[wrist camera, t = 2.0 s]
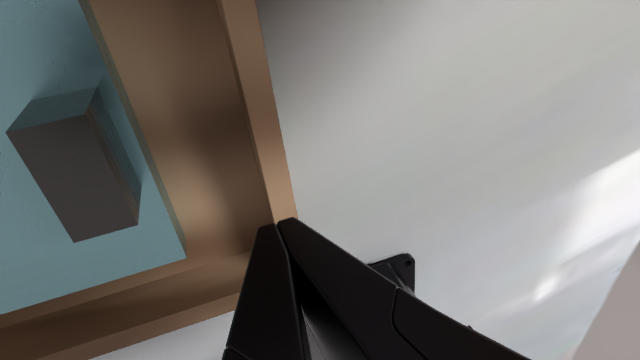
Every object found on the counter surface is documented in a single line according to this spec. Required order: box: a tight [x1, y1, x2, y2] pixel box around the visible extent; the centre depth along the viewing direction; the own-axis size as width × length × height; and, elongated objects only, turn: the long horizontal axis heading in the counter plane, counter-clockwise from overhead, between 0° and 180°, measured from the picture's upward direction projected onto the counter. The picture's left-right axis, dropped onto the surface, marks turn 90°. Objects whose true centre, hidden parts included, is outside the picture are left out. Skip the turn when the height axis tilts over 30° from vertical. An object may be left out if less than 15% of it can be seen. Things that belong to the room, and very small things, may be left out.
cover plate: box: [0, 0, 187, 315], centre depth 13 cm, size 12×8×4 cm, turn 7°
